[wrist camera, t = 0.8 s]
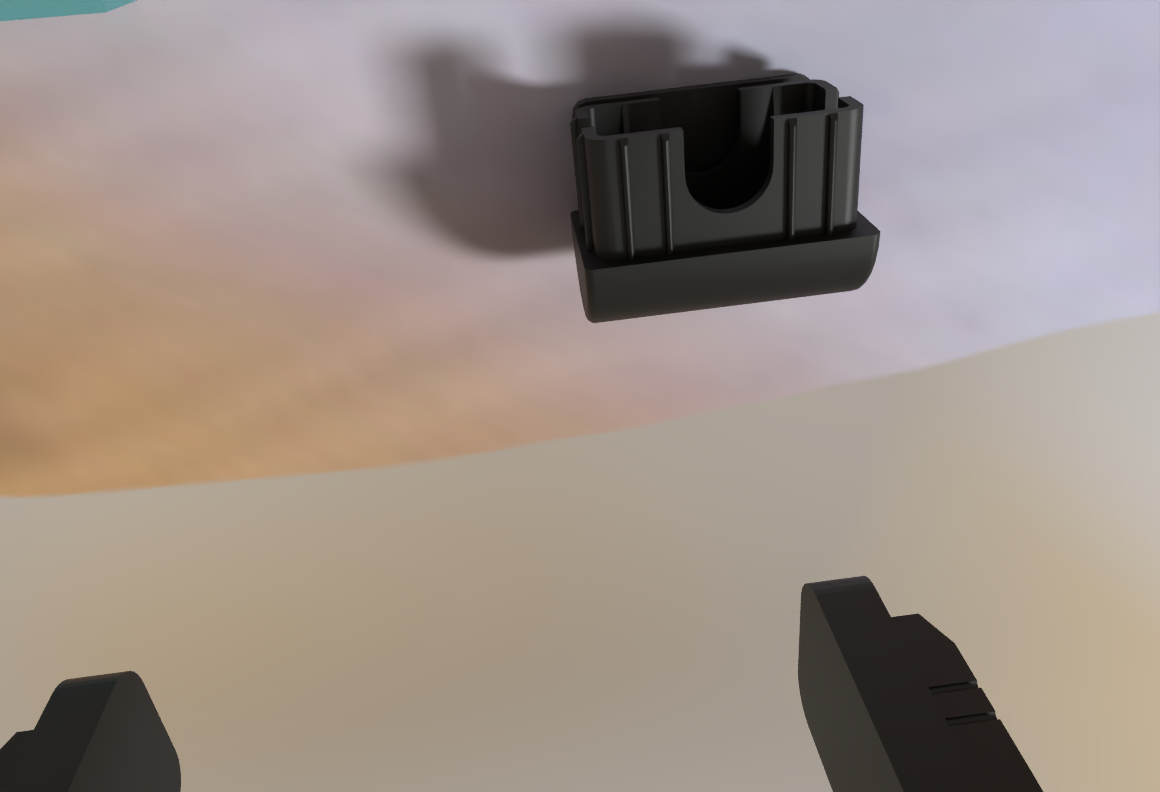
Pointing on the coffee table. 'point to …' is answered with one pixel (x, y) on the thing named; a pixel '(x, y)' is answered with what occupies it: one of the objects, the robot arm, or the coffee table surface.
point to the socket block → (54, 8)
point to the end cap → (718, 197)
